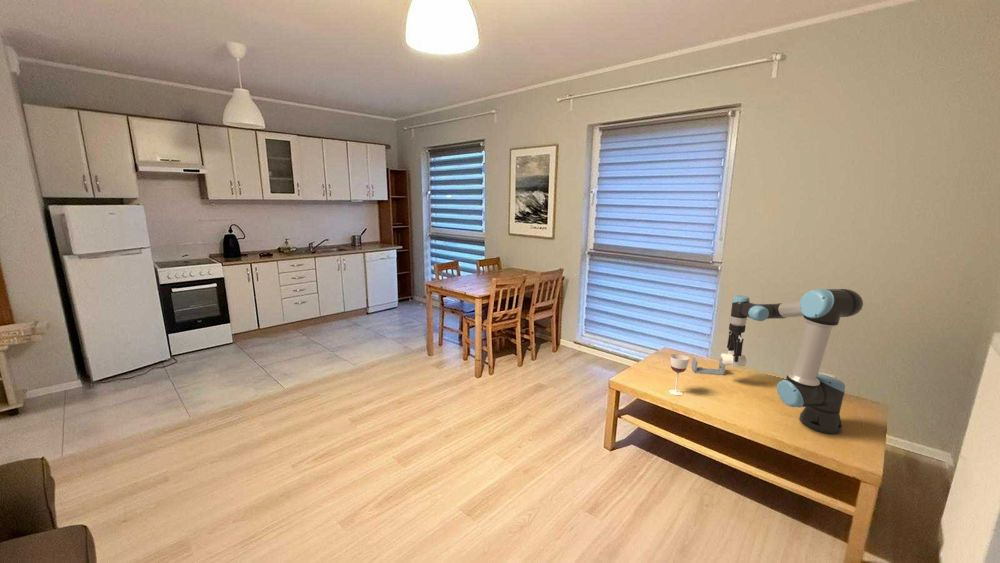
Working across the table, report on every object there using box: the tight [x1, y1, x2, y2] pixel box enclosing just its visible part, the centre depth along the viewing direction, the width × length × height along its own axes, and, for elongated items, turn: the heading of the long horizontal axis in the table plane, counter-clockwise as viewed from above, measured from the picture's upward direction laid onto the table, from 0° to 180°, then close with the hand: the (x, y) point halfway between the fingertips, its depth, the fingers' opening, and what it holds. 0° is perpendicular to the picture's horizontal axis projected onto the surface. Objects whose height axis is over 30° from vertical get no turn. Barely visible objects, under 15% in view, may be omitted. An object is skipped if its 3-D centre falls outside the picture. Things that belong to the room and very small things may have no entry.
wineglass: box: [668, 353, 690, 396], centre depth 206 cm, size 8×9×20 cm
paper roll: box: [719, 353, 747, 367], centre depth 217 cm, size 11×6×6 cm, turn 79°
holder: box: [691, 357, 726, 376], centre depth 234 cm, size 6×16×7 cm, turn 79°
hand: (732, 364), depth 217 cm, fingers closed on paper roll, 6 cm apart
